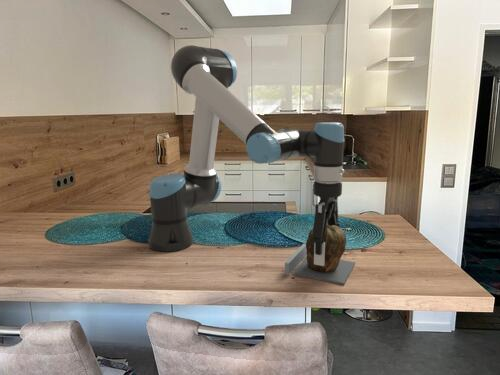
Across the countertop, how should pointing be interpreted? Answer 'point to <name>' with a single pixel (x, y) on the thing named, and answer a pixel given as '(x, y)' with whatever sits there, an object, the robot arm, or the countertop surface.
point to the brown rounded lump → (328, 249)
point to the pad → (330, 276)
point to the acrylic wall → (295, 259)
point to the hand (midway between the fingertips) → (325, 256)
